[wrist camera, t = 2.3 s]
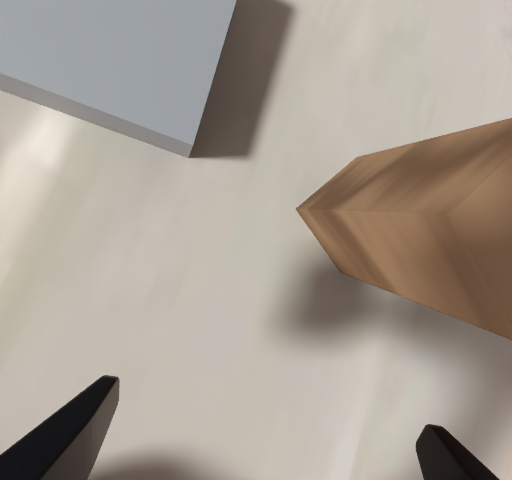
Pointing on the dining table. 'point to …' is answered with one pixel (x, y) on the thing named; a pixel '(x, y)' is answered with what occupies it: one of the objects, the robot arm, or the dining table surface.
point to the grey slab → (117, 62)
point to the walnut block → (427, 223)
